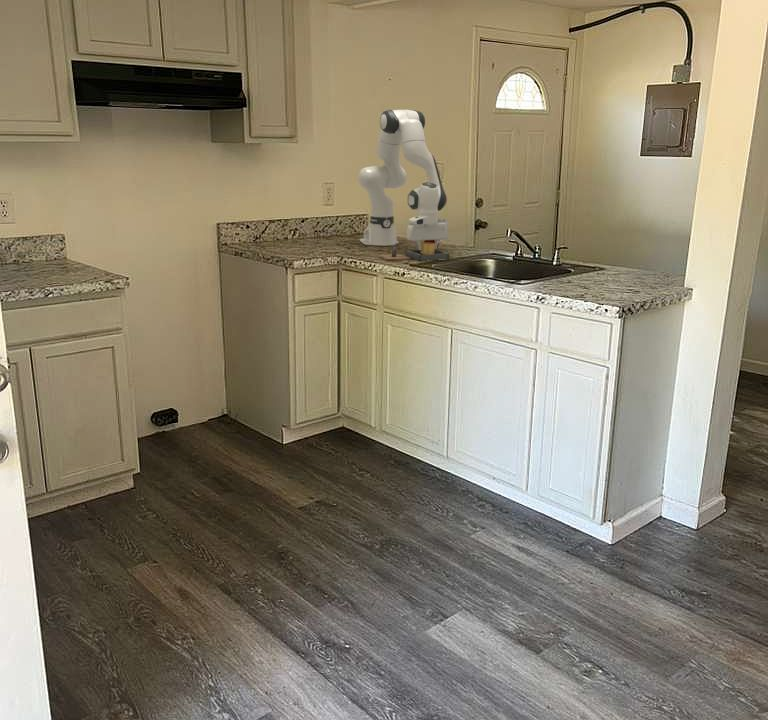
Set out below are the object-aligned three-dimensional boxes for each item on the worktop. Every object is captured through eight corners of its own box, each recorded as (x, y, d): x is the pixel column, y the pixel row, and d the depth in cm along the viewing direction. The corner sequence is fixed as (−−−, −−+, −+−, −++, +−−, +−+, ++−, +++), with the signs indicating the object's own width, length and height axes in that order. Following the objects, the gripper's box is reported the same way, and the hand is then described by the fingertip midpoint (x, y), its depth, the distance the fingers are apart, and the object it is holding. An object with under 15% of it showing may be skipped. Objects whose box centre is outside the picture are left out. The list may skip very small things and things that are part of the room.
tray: (405, 256, 356) (405, 250, 355) (433, 254, 361) (434, 248, 360) (419, 261, 343) (420, 255, 342) (448, 259, 348) (449, 253, 348)
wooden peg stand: (378, 257, 352) (378, 243, 350) (399, 256, 357) (400, 242, 355) (388, 261, 343) (388, 247, 341) (410, 259, 347) (410, 246, 345)
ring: (418, 252, 353) (418, 242, 351) (430, 251, 355) (430, 242, 354) (424, 254, 347) (424, 244, 346) (436, 253, 350) (436, 244, 348)
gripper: (445, 217, 354) (444, 247, 358) (405, 219, 345) (404, 249, 350) (451, 219, 348) (450, 249, 352) (411, 221, 340) (410, 251, 344)
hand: (427, 249), depth 351 cm, fingers closed on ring, 6 cm apart
